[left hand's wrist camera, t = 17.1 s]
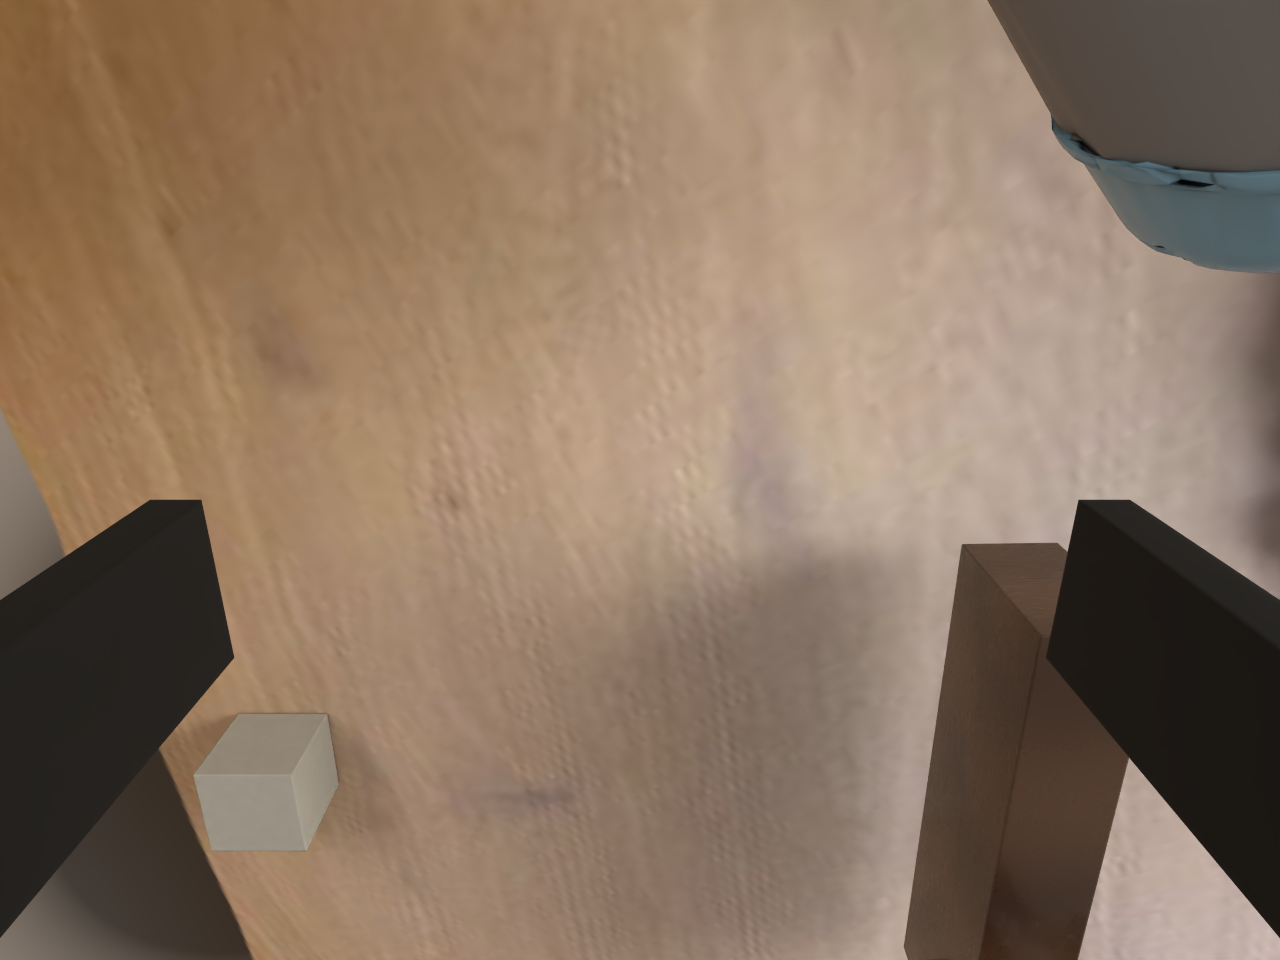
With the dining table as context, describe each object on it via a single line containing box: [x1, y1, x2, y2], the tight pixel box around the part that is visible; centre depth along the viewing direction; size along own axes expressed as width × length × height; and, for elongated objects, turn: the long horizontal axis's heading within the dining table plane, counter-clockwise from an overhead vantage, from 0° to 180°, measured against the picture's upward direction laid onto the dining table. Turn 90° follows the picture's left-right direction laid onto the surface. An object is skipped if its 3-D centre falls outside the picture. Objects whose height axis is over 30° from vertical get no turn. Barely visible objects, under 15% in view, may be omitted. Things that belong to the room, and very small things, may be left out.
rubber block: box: [193, 714, 339, 851], centre depth 44 cm, size 5×5×5 cm
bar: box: [904, 543, 1129, 960], centre depth 39 cm, size 26×4×8 cm, turn 1°
